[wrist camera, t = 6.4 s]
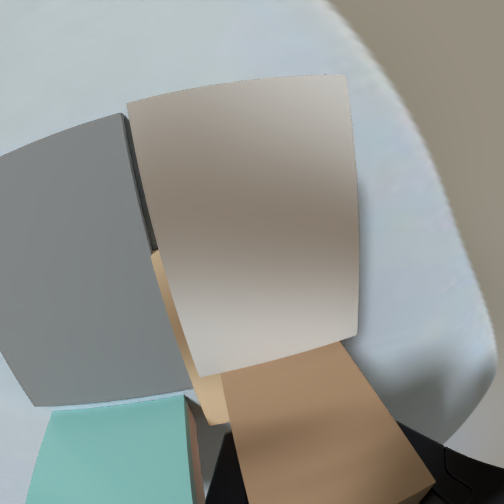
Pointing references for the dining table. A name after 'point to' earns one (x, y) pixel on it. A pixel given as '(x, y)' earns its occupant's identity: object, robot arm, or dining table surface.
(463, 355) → the dining table surface
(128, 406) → the tile
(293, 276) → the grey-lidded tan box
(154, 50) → the dining table surface
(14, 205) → the plate
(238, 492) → the robot arm
